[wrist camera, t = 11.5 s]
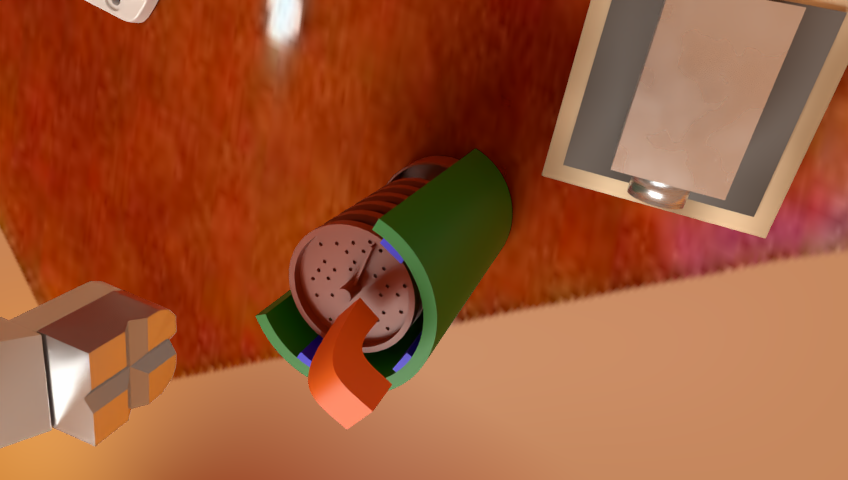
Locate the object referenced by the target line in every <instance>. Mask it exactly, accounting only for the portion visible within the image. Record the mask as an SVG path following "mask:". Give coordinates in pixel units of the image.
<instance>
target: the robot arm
mask: <svg viewBox="0 0 848 480" xmlns="http://www.w3.org/2000/svg"><path fill="white" fill-rule="evenodd" d="M85 1H87V2H89V3H91V4H93V5H95V6H97V7H99V8H101V9H103V10H105V11H107V12H109V13H110V14H112V15H114V16H116V17H118V18H120V19H122V20H124V21H127V22H134V23H141V22H144V21H145V20H146V19H147V18H148V17H149V15H150V14H151V12H152V11H153V9H154V7H155V6H156V4H157V2H158V0H120V2H119V0H85ZM175 333H176V315H175V314H173V313H172V312H171V311H170V310H169V309H166V308H164V307H162V306H159V305H157V304H155V303H153V302H150V301H148V300H146V299H143V298H141V297H139V296H136V295H134V294H132V293H129V292H127V291H125V290H121V289H118V288H116V287H114V286H112V285H109V284H107V283H105V282H102V281H90V282H88V283H86V284H84V285H81V286H79V287H77V288H75V289H73V290H71V291H69V292H67V293H65V294H63V295H61V296H59V297H57V298H54V299H52V300H50V301H48V302H46V303H44V304H42V305H40V306H38V307H36V308H34V309H32V310H29V311H27V312H25V313H23V314H21V315H19V316H17V317H15V318H13V319H11V320H7V319H5V318H2V317H0V448H3V447H5V446H8V445H11V444H14V443H17V442H20V441H22V440H25V439H28V438H31V437H34V436H37V435H39V434H42V433H45V432H48V431H51V430H52V427H53V428H55V429H57V430H60V431H62V432H64V433H66V434H69V435H71V436H73V437H75V438H78V439H80V440H82V441H84V442H87V443H89V444H92V445H93V446H97V445H98V444H99V443H100V442H102V441H103V440H104V439H105V438H107V437H108V436H109V435H110V434H112V433H113V432H114V431H116V430H117V429H118V428H119V427H121V426H122V425H123V424H124V423H126V422H127V421H128V420H129V415H130V412H131V409H133V408H136V407H140V406H144V405H148V404H150V403H151V402H152V401H153V400H155V399H156V398H157V397H158V396H159V395H161V394H162V393H163V391H164V389H165V388H166V387H167V385H168V384H169V382H170V381H171V379H172V377H173V374H174V371H175V367H176V352H175V350H174V348H173V346H172V344H171V342H170V340H169V339H170V338H171V337H172V336H173V335H174V334H175Z"/></svg>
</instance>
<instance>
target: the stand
mask: <svg viewBox="0 0 848 480" xmlns="http://www.w3.org/2000/svg"><path fill="white" fill-rule="evenodd" d="M769 1H774V2H780V3H785V4H790V5H796V6H801V7H806V10H805V12H804V15H803V17H802V19H801V22H800V24H799V26H798V29H797V31H796V33H795V36H794V38H793V40H792V43H791V45H790V48H789V50H788V52H787V55H786V57H785V59H784V62H783V64H782V66H781V69H780V71H779V74H778V76H777V78H776V81H775V83H774V85H773V88H772V90H771V92H770V95H769V97H768V100H767V102H766V104H765V107H764V109H763V111H762V114H761V116H760V118H759V121H758V123H757V125H756V128H755V130H754V133H753V135H752V137H751V140H750V142H749V144H748V147H747V149H746V151H745V154H744V156H743V159H742V161H741V163H740V166H739V168H738V170H737V173H736V175H735V177H734V180H733V182H732V185H731V187H730V189H729V192H728V194H727V196H726V199H725V200H722V199H718V198H714V197H710V196H707V195H703V194H699V193H695V192H692V191H690V194H689V196H688V199H687V202H686V204H685V207H684V208H682V209H666V208H661V207H657V206H654V205H650V204H647V203H645V202H642V201H640V200H638V199H636V198H634V197H632V196H631V195H630V194H629V193H628V192H627V188H628V185H629V182H630V179H631V177H632V175H628V174H624V173H620V172H617V171H613V170H611V166H612V162H613V158H614V154H615V150H616V146H617V143H618V140H619V137H620V134H621V131H622V128H623V125H624V122H625V119H626V115H627V112H628V109H629V106H630V103H631V100H632V97H633V94H634V91H635V88H636V85H637V82H638V79H639V76H640V73H641V70H642V66H643V63H644V60H645V57H646V54H647V51H648V48H649V45H650V42H651V39H652V36H653V33H654V30H655V27H656V24H657V21H658V17H659V14H660V11H661V8H662V5H663V2H664V0H591V2H590V5H589V9H588V12H587V16H586V19H585V23H584V27H583V30H582V34H581V37H580V41H579V44H578V48H577V51H576V55H575V59H574V62H573V66H572V69H571V73H570V76H569V80H568V83H567V87H566V91H565V94H564V98H563V101H562V105H561V108H560V112H559V115H558V119H557V123H556V126H555V130H554V133H553V137H552V140H551V144H550V147H549V151H548V154H547V158H546V162H545V165H544V169H543V172H542V176H545V177H549V178H552V179H556V180H559V181H563V182H566V183H570V184H574V185H577V186H581V187H584V188H588V189H591V190H595V191H598V192H602V193H606V194H609V195H613V196H616V197H620V198H623V199H627V200H631V201H634V202H638V203H641V204H645V205H648V206H652V207H656V208H659V209H663V210H666V211H670V212H673V213H677V214H680V215H684V216H688V217H691V218H695V219H698V220H702V221H705V222H709V223H713V224H716V225H720V226H723V227H727V228H730V229H734V230H737V231H741V232H745V233H748V234H752V235H755V236H759V237H762V238H766V236H767V234H768V232H769V230H770V227H771V225H772V223H773V221H774V219H775V217H776V215H777V213H778V211H779V208H780V206H781V204H782V202H783V200H784V198H785V196H786V194H787V192H788V189H789V187H790V185H791V183H792V181H793V179H794V177H795V175H796V173H797V170H798V168H799V166H800V164H801V162H802V160H803V158H804V156H805V154H806V151H807V149H808V147H809V145H810V143H811V141H812V139H813V137H814V134H815V132H816V130H817V128H818V126H819V124H820V122H821V120H822V118H823V115H824V113H825V111H826V109H827V107H828V105H829V103H830V101H831V99H832V96H833V94H834V92H835V90H836V88H837V86H838V84H839V82H840V80H841V77H842V75H843V73H844V71H845V69H846V67H847V65H848V0H769Z"/></svg>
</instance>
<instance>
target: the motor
mask: <svg viewBox="0 0 848 480" xmlns="http://www.w3.org/2000/svg"><path fill="white" fill-rule="evenodd" d="M511 224H512V202H511V197H510V193H509V190H508V187H507V184H506V182H505V180H504V178H503V176H502V175H501V173H500V171H499V170H498V169H497V167H496V166H495V165H494V164H493V162H492V161H491V160H490V159H489V158H488V157H486V156H485V155H484V154H483V153H482V152H480V151H479V150H477V149H476V148H475V149H474V150H473V151H471V152H470V153H469V154H467V155H466V156H464V157H463V158H462V159H460V160H459V159H456V158H453V157H449V156H442V155H435V156H428V157H424V158H421V159H419V160H417V161H415V162H413V163H412V164H410V165H408V166H407V167H405V168H403V169H402V170H400V171H399V172H397V173H396V174H395V175H394V176H393V177H392V178H391V179H390V180H389V182H388V183H387V185H385V186H384V187H382V188H381V189H379V190H377V191H376V192H374V193H373V194H371V195H369V196H368V197H366V198H365V199H363V200H361V201H360V202H358V203H357V204H355V205H354V206H352V207H350V208H348V209H347V210H345V211H344V212H342V213H341V214H340V215H338V216H336V217H334V218H332V219H331V220H329V221H328V222H326V223H325V224H324V225H322V226H320V227H318V228H316V229H315V230H313V231H312V232H310V233H309V234H307V235H306V236H305V237H304V238H303V239H302V240H301V241H300V242H299V244H298V245H297V247H296V248H295V250H294V252H293V255H292V258H291V261H290V267H289V283H290V289H291V290H289V291H288V292H287V293H285V294H284V295H283V296H281V297H280V298H279V299H277V300H276V301H275V302H273V303H272V304H271V305H269V306H268V307H267V308H265V309H264V310H263V311H261V312H260V313H259V314H257V315H256V318H257V320H258V322H259V324H260V326H261V328H262V330H263V332H264V334H265V335H266V337H267V338H268V340H269V341H270V342H271V344H272V345H273V346H274V348H275V349H276V350H277V351H278V352H279V354H280V355H281V356H282V357H283V358H284V359H285V360H286V361H287V362H288V363H290V364H291V365H292V366H293V367H294V368H295V369H297V370H298V371H299V372H301V373H302V374H304V375H305V376H306V377H308V384H309V388H310V391H311V394H312V395H313V397H314V399H315V400H316V401H317V403H318V404H319V405H320V406H321V407H322V408H323V409H324V410H325V411H326V412H327V413H328V414H329V415H330V416H332V417H333V418H334V419H335V420H336V421H337V422H339V423H340V424H341V425H342V426H343V427H344V428H346V429H348V428H350V427H351V426H352V425H354V424H356V423H357V422H358V421H360V420H361V419H363V418H364V417H366V416H367V415H368V414H370V413H371V412H373V410H374V409H375V408H376V406H377V405H378V404H379V402H380V401H381V399H382V398H383V396H384V395H385V394H386V392H387V391H388V390H391V389H394V388H396V387H398V386H400V385H402V384H404V383H405V382H407V381H408V380H409V379H411V378H412V377H413V376H414V375H415V374H416V373H417V372H418V371H419V370H420V368H421V367H422V366H423V365H424V363H425V362H426V360H427V359H428V357H429V356H430V355H431V353H432V351H433V350H434V349H435V347H436V346H437V344H438V343H439V341H440V339H441V338H442V337H443V335H444V334H445V332H446V331H447V329H448V328H449V326H450V325H451V323H452V322H453V320H454V319H455V317H456V316H457V314H458V313H459V311H460V310H461V308H462V307H463V305H464V304H465V303H466V301H467V300H468V298H469V297H470V295H471V294H472V292H473V291H474V289H475V288H476V286H477V285H478V283H479V282H480V280H481V279H482V277H483V276H484V274H485V273H486V271H487V270H488V268H489V267H490V265H491V264H492V262H493V261H494V259H495V258H496V256H497V255H498V254H499V252H500V251H501V249H502V247H503V246H504V244H505V242H506V240H507V238H508V235H509V233H510V229H511Z"/></svg>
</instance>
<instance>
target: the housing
mask: <svg viewBox="0 0 848 480" xmlns="http://www.w3.org/2000/svg"><path fill="white" fill-rule="evenodd" d="M805 10H806V7H801V6H796V5H790V4H785V3H780V2H774V1H769V0H664V2H663V5H662V8H661V11H660V14H659V17H658V21H657V24H656V27H655V30H654V33H653V36H652V39H651V42H650V45H649V48H648V51H647V54H646V57H645V60H644V63H643V66H642V70H641V73H640V76H639V79H638V82H637V85H636V88H635V91H634V94H633V97H632V100H631V103H630V106H629V109H628V112H627V115H626V119H625V122H624V125H623V128H622V131H621V134H620V137H619V140H618V143H617V146H616V150H615V154H614V158H613V162H612V166H611V170H613V171H617V172H620V173H624V174H628V175H632V177H631V179H630V182H629V185H628V188H627V192H628V193H629V194H630V195H631V196H632V197H634V198H636V199H638V200H640V201H642V202H645V203H647V204H650V205H654V206H657V207H661V208H666V209H682V208H684V207H685V204H686V202H687V199H688V196H689V194H690V191H692V192H695V193H699V194H703V195H707V196H710V197H714V198H718V199H722V200H725V199H726V196H727V194H728V192H729V189H730V187H731V185H732V182H733V180H734V177H735V175H736V173H737V170H738V168H739V166H740V163H741V161H742V159H743V156H744V154H745V151H746V149H747V147H748V144H749V142H750V140H751V137H752V135H753V133H754V130H755V128H756V125H757V123H758V121H759V118H760V116H761V114H762V111H763V109H764V107H765V104H766V102H767V100H768V97H769V95H770V92H771V90H772V88H773V85H774V83H775V81H776V78H777V76H778V74H779V71H780V69H781V66H782V64H783V62H784V59H785V57H786V55H787V52H788V50H789V48H790V45H791V43H792V40H793V38H794V36H795V33H796V31H797V29H798V26H799V24H800V22H801V19H802V17H803V15H804V12H805Z"/></svg>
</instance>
